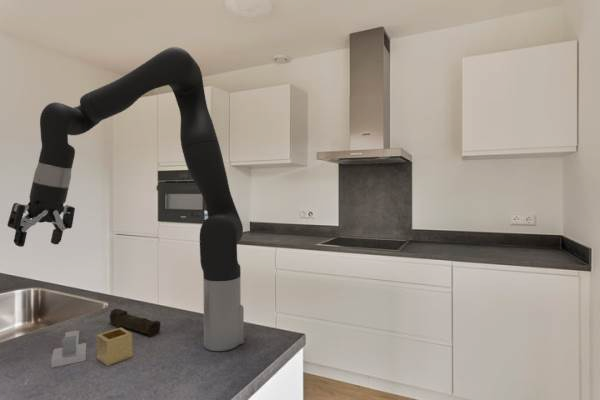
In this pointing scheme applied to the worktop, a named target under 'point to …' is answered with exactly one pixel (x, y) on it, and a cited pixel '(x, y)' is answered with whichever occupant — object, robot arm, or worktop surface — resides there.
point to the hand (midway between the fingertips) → (37, 244)
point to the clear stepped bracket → (69, 350)
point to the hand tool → (134, 322)
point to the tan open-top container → (114, 346)
